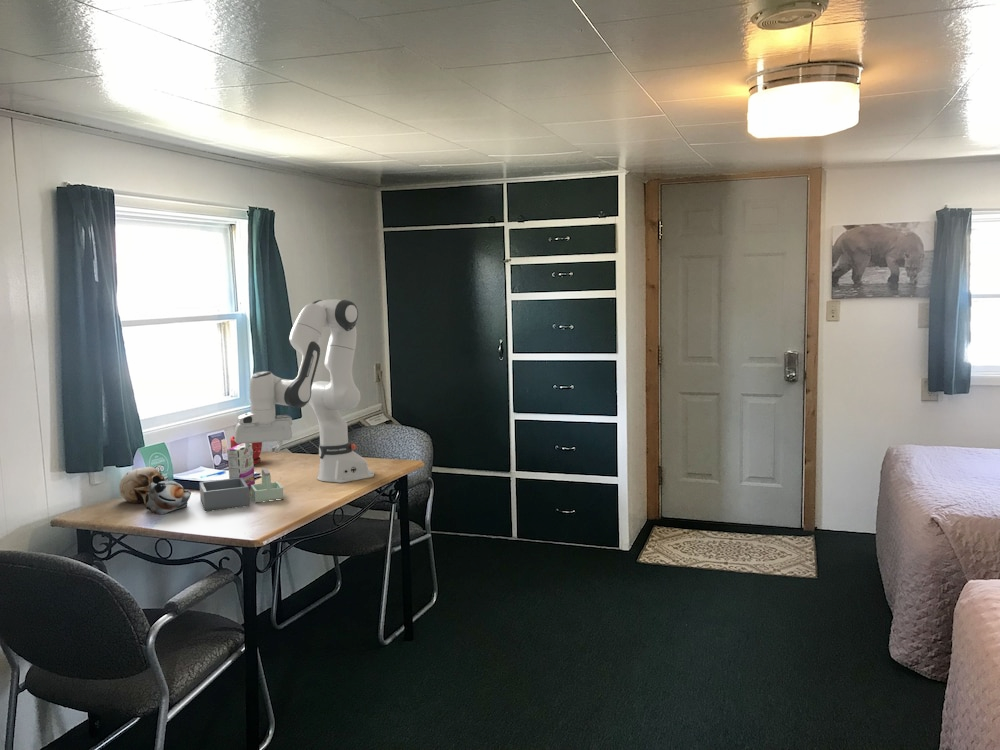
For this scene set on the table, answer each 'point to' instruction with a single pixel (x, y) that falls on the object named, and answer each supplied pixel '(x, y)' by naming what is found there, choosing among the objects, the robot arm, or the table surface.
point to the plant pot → (256, 449)
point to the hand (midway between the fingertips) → (264, 453)
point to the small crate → (266, 489)
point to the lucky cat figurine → (166, 497)
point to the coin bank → (139, 483)
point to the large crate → (224, 494)
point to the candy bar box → (241, 464)
